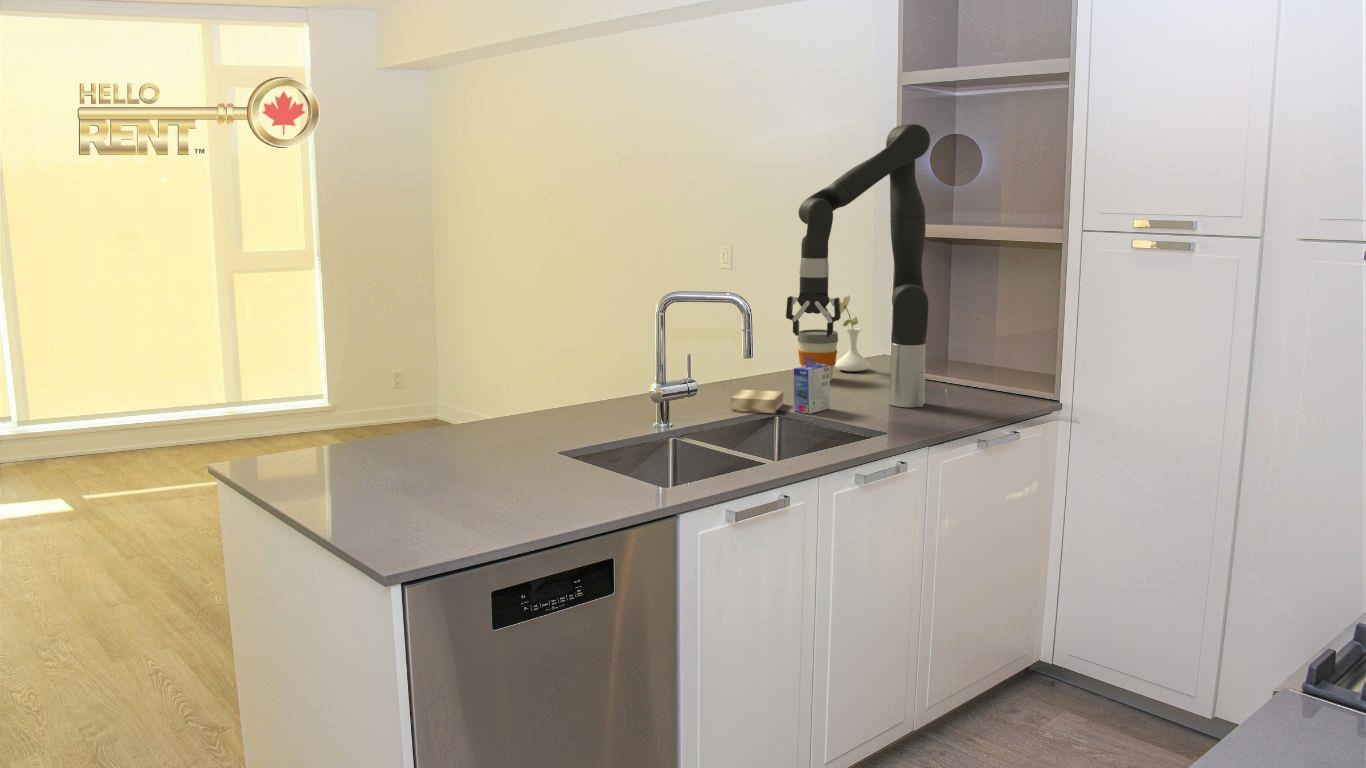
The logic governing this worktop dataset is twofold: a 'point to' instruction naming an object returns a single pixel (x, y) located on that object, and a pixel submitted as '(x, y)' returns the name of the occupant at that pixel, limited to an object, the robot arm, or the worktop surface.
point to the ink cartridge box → (811, 387)
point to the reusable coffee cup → (818, 347)
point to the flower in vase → (851, 345)
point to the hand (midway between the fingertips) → (812, 335)
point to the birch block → (757, 401)
